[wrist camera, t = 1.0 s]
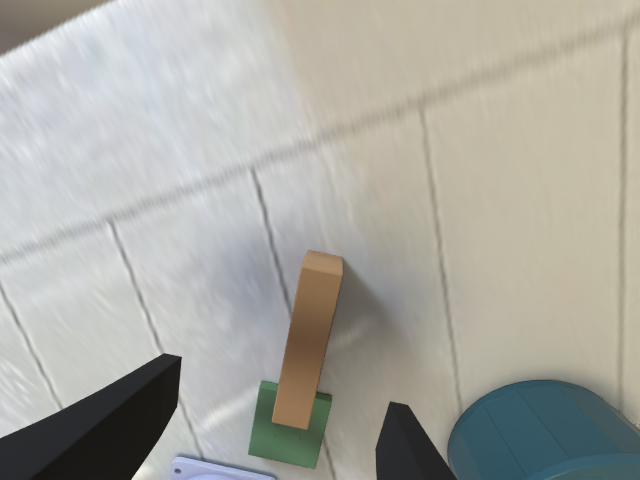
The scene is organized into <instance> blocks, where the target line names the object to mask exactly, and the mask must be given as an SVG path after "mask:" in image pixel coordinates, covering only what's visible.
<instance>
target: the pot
mask: <svg viewBox="0 0 640 480" xmlns="http://www.w3.org/2000/svg"><path fill="white" fill-rule="evenodd" d="M617 453H621V454H638V455H640V430H639V429H638V428H637V427H636V426H635V425H634V424H633V423H631V422H630V421H629V420H628V419H627V418H626V417H625V416H624V415H622V414H621V413H620V412H619V411H618V410H616V409H615V408H613V407H612V406H611V405H609V404H608V403H607V402H606V401H604V400H603V399H602V398H600V397H599V396H598V395H596V394H594V393H593V392H591V391H589V390H587V389H585V388H582V387H580V386H577V385H574V384H570V383H567V382H560V381H552V380H535V381H526V382H520V383H516V384H512V385H509V386H505V387H503V388H500V389H498V390H495V391H493V392H492V393H490V394H488V395H486V396H484V397H483V398H481V399H480V400H478V401H477V402H475V403H474V404H473V405H472V406H471V407H470V408H469V409H468V410H467V411H466V412H465V413H464V414H463V415H462V416H461V418H460V419H459V421H458V422H457V424H456V425H455V427H454V429H453V431H452V433H451V437H450V440H449V445H448V462H449V467H450V470H451V471H452V472H453V474H454V475H455V477H456V478H457V479H458V480H523V479H524V478H526V477H528V476H530V475H531V474H533V473H535V472H537V471H540V470H542V469H544V468H546V467H548V466H551V465H554V464H557V463H560V462H563V461H567V460H571V459H575V458H579V457H584V456H591V455H598V454H617Z"/></svg>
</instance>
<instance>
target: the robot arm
mask: <svg viewBox="0 0 640 480" xmlns="http://www.w3.org/2000/svg"><path fill="white" fill-rule="evenodd" d="M181 359H182V357H180V356H175V355H170V354H166V353H164V354H162V355H160V356H159V357H157V358H155V359H153V360H152V361H150V362H148V363H146V364H145V365H143V366H141V367H140V368H138V369H136V370H134V371H133V372H131V373H129V374H128V375H126V376H124V377H122V378H121V379H119V380H117V381H115V382H114V383H112V384H110V385H108V386H106V387H105V388H103V389H101V390H99V391H97V392H96V393H94V394H92V395H90V396H88V397H86V398H84V399H82V400H80V401H78V402H76V403H74V404H72V405H71V406H69V407H67V408H65V409H63V410H61V411H59V412H57V413H55V414H53V415H51V416H49V417H47V418H45V419H42V420H40V421H38V422H36V423H34V424H32V425H29V426H27V427H25V428H23V429H20V430H18V431H16V432H14V433H11V434H9V435H7V436H4V437H2V438H0V480H131V479H132V478H133V476H134V475H135V473H136V472H137V471H138V469H139V468H140V466H141V465H142V463H143V462H144V460H145V459H146V458H147V456H148V455H149V453H150V452H151V450H152V449H153V447H154V446H155V444H156V443H157V441H158V440H159V438H160V437H161V435H162V433H163V431H164V430H165V428H166V426H167V424H168V423H169V421H170V419H171V417H172V415H173V413H174V411H175V409H176V408H177V403H178V392H179V381H180V370H181ZM376 473H377V480H458V479H457V478H456V477H455V475H454V474H453V472H452V471H451V470H450V468H449V467H448V465H447V464H446V462H445V461H444V459H443V458H442V457H441V455H440V454H439V452H438V451H437V449H436V448H435V446H434V445H433V443H432V442H431V440H430V438H429V437H428V435H427V434H426V432H425V431H424V429H423V428H422V426H421V425H420V423H419V421H418V420H417V418H416V417H415V415H414V414H413V412H412V411H411V409H410V408H409V406H408V405H405V404H400V403H396V402H391V401H390V403H389V406H388V410H387V413H386V416H385V420H384V423H383V426H382V429H381V433H380V436H379V439H378V443H377V446H376ZM171 480H276V479H275V478H274V477H271V476H266V475H262V474H257V473H253V472H248V471H244V470H239V469H235V468H230V467H226V466H221V465H217V464H212V463H207V462H203V461H198V460H194V459H189V458H185V457H176V458H175V460H174V461H173V464H172V472H171Z"/></svg>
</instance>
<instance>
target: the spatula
mask: <svg viewBox="0 0 640 480" xmlns="http://www.w3.org/2000/svg"><path fill="white" fill-rule="evenodd" d="M342 279H343V258H342V257H339V256H334V255H329V254H325V253H320V252H315V251H310V250H308V251H307V254H306V256H305V259H304V261H303V264H302V267H301V271H300V276H299V281H298V287H297V292H296V297H295V302H294V307H293V313H292V318H291V323H290V328H289V333H288V339H287V344H286V349H285V354H284V359H283V365H282V370H281V375H280V380H279V385H278V384H274V383H269V382H264V381H262V382H261V385H260V388H259V394H258V400H257V405H256V411H255V417H254V423H253V428H252V434H251V440H250V446H249V451H248V454H249V455H253V456H257V457H262V458H266V459H271V460H275V461H280V462H284V463H289V464H294V465H298V466H303V467H307V468H312V469H315V467H316V463H317V459H318V455H319V451H320V447H321V443H322V439H323V435H324V431H325V427H326V423H327V419H328V415H329V411H330V407H331V403H332V396H329V395H325V394H320V393H316V391H317V387H318V382H319V378H320V374H321V369H322V365H323V361H324V356H325V352H326V348H327V343H328V339H329V335H330V330H331V326H332V322H333V317H334V313H335V309H336V304H337V300H338V296H339V292H340V287H341V283H342Z"/></svg>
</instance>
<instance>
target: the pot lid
mask: <svg viewBox="0 0 640 480" xmlns="http://www.w3.org/2000/svg"><path fill="white" fill-rule="evenodd" d="M523 480H640V455H638V454H621V453H617V454H598V455H591V456H584V457H579V458H575V459H571V460H567V461H563V462H560V463H557V464H554V465H551V466H548V467H546V468H544V469H542V470H540V471H537V472H535V473H533V474H531V475H530V476H528V477H526V478H524V479H523Z"/></svg>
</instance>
